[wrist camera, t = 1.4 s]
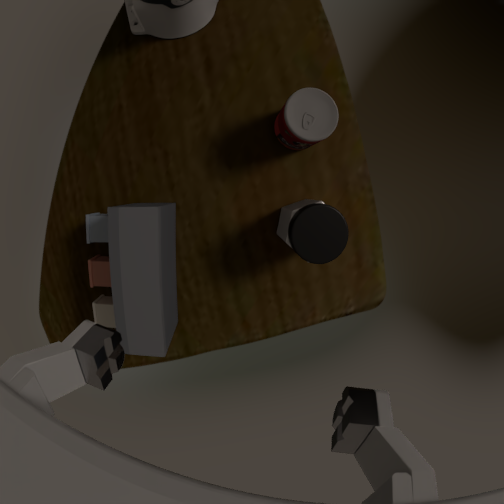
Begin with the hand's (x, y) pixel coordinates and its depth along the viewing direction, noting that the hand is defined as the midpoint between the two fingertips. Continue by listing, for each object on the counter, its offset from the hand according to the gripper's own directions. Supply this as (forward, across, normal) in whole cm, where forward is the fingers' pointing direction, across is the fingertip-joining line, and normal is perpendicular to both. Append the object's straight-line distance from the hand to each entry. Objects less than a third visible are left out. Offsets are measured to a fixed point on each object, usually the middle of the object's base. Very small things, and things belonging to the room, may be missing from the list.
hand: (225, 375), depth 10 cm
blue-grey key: (+33, +27, +10) cm, 44 cm away
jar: (+44, -2, +9) cm, 45 cm away
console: (+36, +21, +18) cm, 45 cm away
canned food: (+47, +2, -7) cm, 48 cm away
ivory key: (+30, +25, +24) cm, 46 cm away
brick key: (+31, +26, +17) cm, 44 cm away
